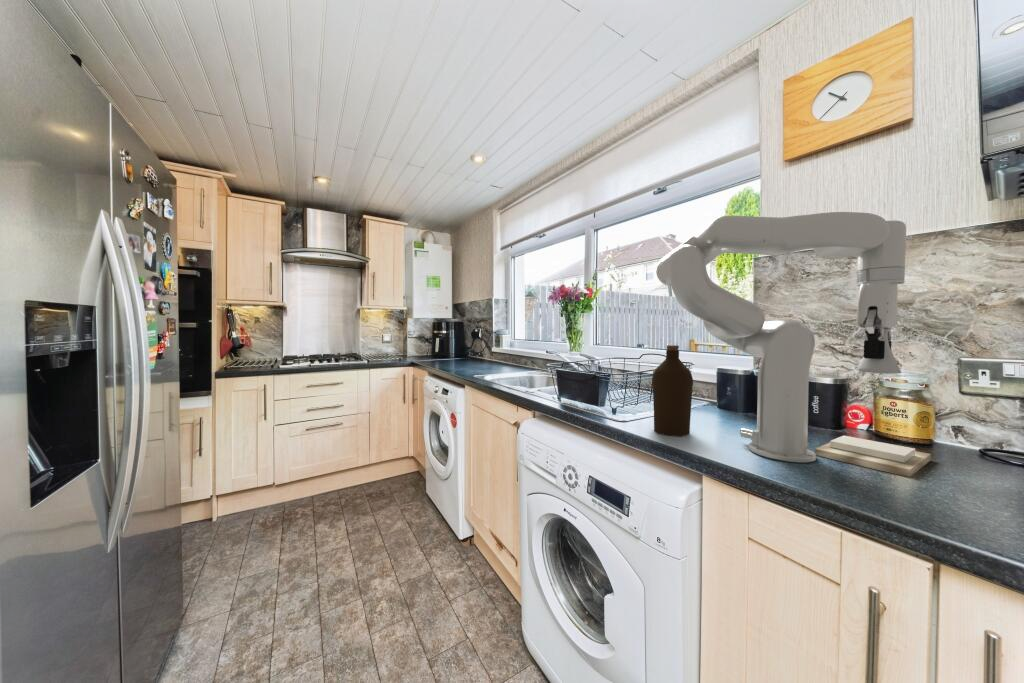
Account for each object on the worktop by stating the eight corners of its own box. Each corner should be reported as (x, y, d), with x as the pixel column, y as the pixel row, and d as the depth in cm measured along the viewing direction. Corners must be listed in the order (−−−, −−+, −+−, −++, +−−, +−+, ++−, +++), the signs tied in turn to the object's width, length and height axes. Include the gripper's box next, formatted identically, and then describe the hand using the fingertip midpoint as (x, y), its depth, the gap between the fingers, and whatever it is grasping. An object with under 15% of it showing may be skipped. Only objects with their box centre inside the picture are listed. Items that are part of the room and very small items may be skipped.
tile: (843, 441, 89) (829, 447, 84) (843, 435, 89) (830, 440, 84) (915, 455, 78) (904, 463, 74) (915, 448, 78) (904, 455, 74)
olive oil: (667, 438, 96) (668, 346, 96) (644, 428, 106) (645, 345, 106) (700, 435, 98) (702, 346, 98) (675, 426, 109) (676, 344, 108)
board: (814, 455, 83) (815, 448, 83) (842, 443, 92) (842, 437, 92) (909, 477, 70) (909, 469, 70) (930, 460, 80) (930, 453, 80)
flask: (859, 370, 86) (861, 329, 85) (904, 373, 80) (905, 329, 80) (852, 372, 81) (853, 328, 81) (898, 375, 76) (900, 328, 75)
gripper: (867, 283, 88) (865, 356, 88) (845, 276, 79) (843, 358, 79) (913, 279, 82) (910, 358, 82) (894, 271, 72) (891, 360, 73)
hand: (877, 357), depth 81 cm, fingers closed on flask, 4 cm apart
